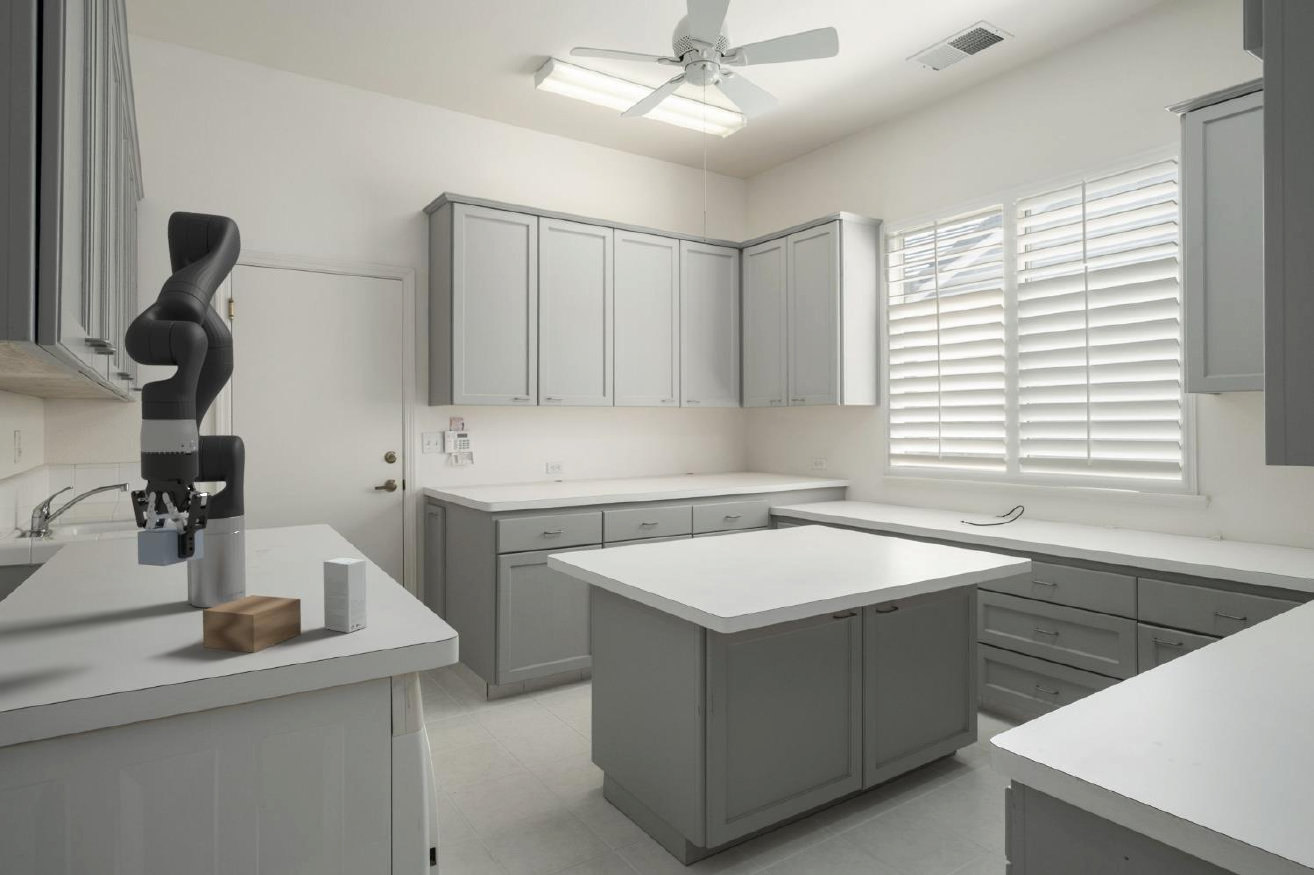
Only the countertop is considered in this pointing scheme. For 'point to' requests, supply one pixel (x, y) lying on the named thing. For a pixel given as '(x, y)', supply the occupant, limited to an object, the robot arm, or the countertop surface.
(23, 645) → the countertop surface
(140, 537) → the slate brick
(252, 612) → the walnut block
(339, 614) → the skincare box
